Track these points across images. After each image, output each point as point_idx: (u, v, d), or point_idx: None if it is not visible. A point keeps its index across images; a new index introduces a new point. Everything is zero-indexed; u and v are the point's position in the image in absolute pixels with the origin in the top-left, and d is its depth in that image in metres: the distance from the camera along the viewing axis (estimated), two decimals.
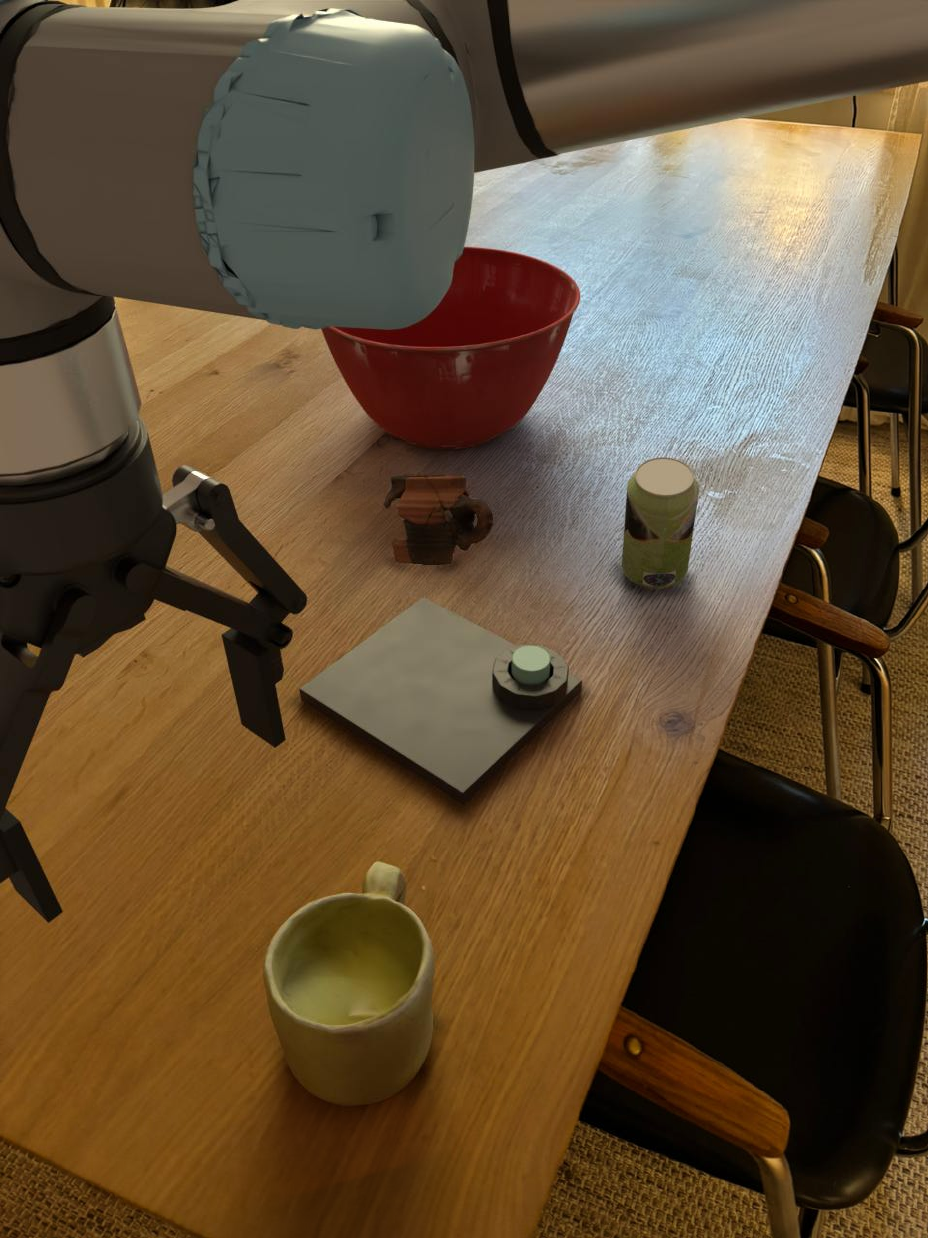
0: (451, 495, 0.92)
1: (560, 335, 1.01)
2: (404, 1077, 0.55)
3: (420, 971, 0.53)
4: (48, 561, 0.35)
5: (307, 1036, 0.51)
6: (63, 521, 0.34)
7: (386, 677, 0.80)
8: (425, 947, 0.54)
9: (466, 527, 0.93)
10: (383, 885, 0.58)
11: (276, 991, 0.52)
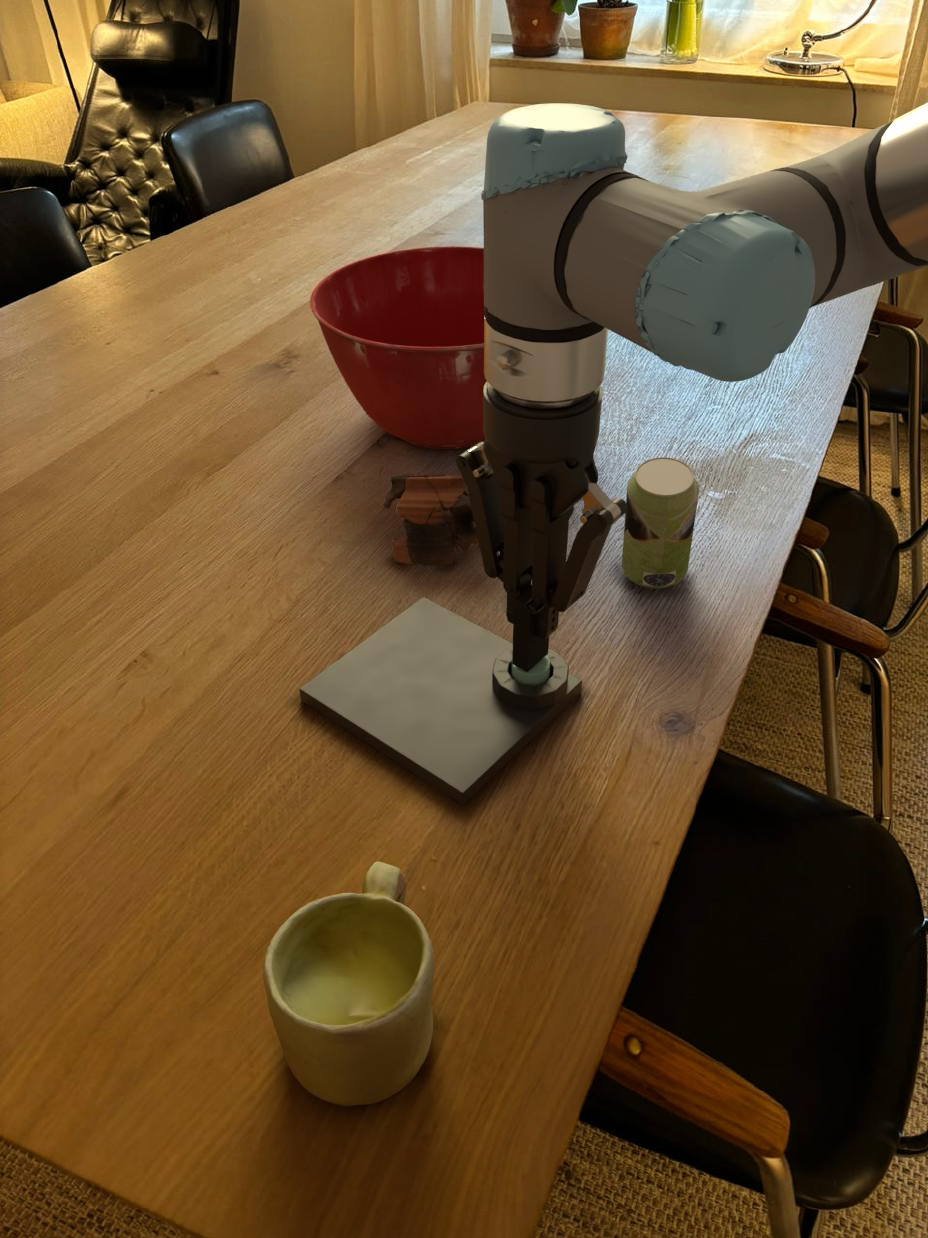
0: (451, 495, 0.92)
1: None
2: (404, 1077, 0.55)
3: (420, 971, 0.53)
4: None
5: (307, 1036, 0.51)
6: None
7: (386, 677, 0.80)
8: (425, 947, 0.54)
9: (466, 527, 0.93)
10: (383, 885, 0.58)
11: (276, 991, 0.52)
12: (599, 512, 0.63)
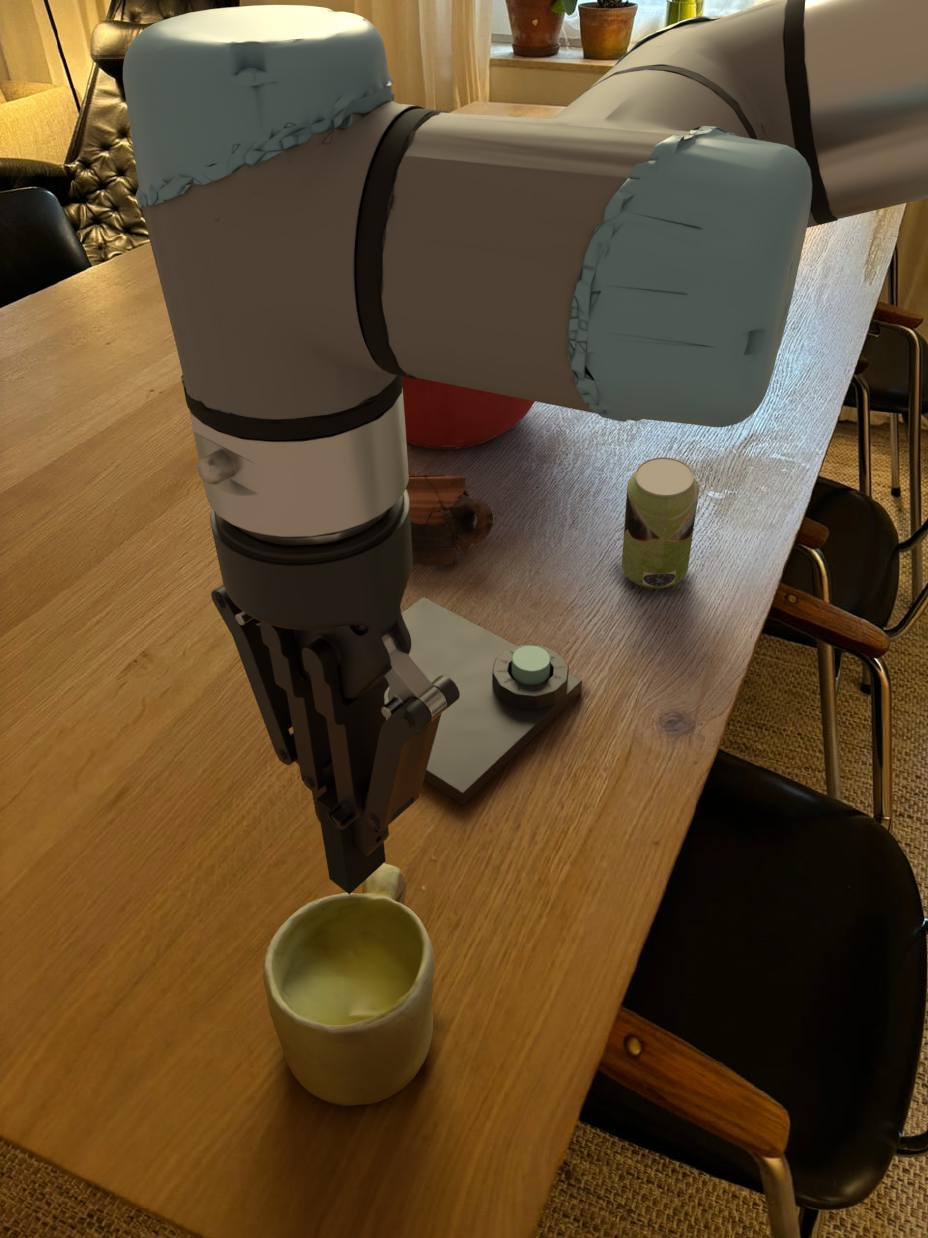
0: (451, 495, 0.92)
1: None
2: (404, 1077, 0.55)
3: (420, 971, 0.53)
4: None
5: (307, 1036, 0.51)
6: None
7: None
8: (425, 947, 0.54)
9: (466, 527, 0.93)
10: (383, 885, 0.58)
11: (276, 991, 0.52)
12: (407, 706, 0.38)
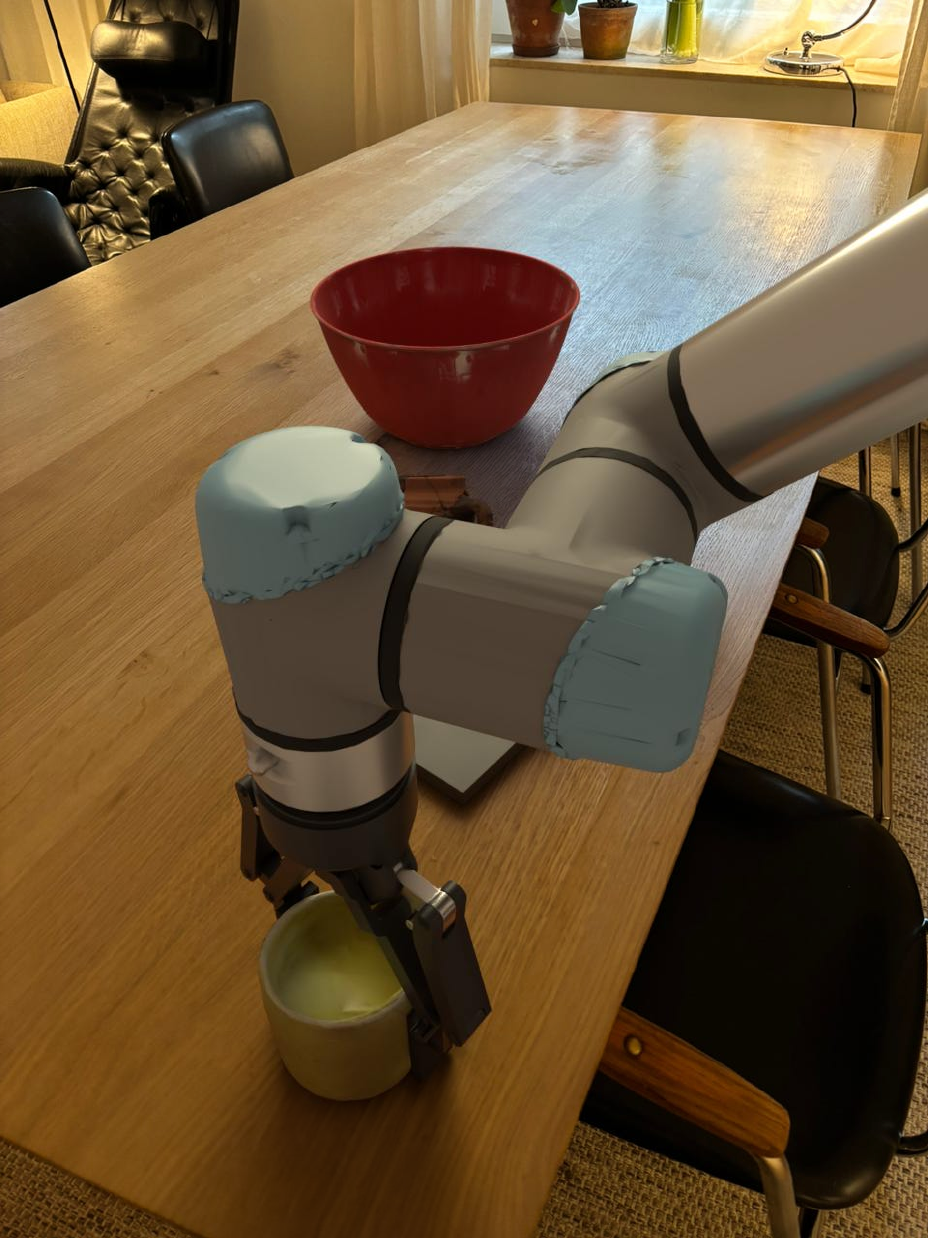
0: (451, 495, 0.92)
1: (560, 335, 1.01)
2: (397, 1072, 0.55)
3: None
4: None
5: (300, 1031, 0.51)
6: None
7: None
8: None
9: None
10: None
11: (270, 986, 0.52)
12: (418, 912, 0.45)
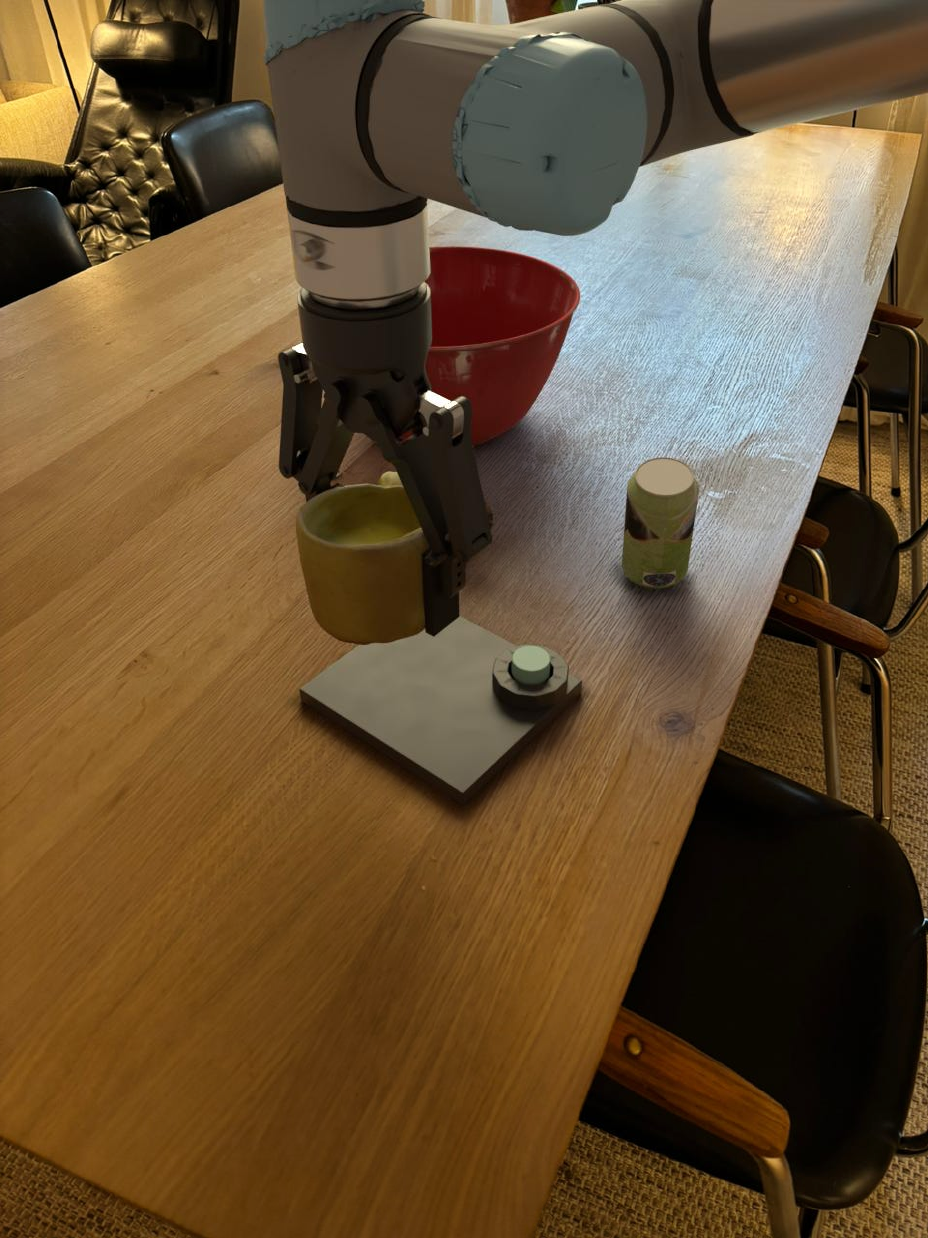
0: None
1: (560, 335, 1.01)
2: (413, 619, 0.65)
3: None
4: None
5: (333, 557, 0.61)
6: None
7: (386, 677, 0.80)
8: None
9: None
10: (395, 481, 0.69)
11: (308, 530, 0.63)
12: (433, 411, 0.56)
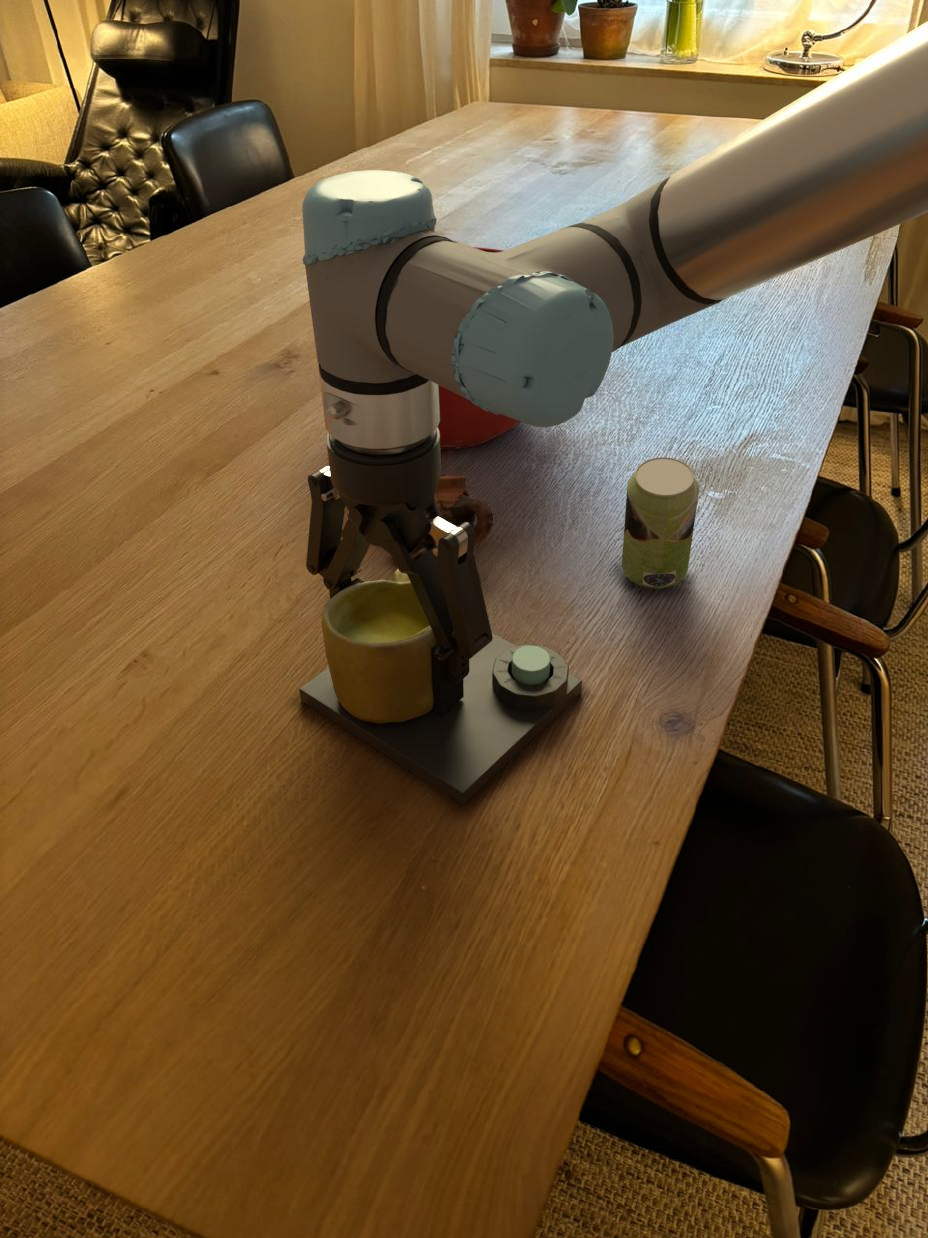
0: (451, 495, 0.92)
1: None
2: (423, 702, 0.75)
3: None
4: None
5: (355, 652, 0.71)
6: None
7: None
8: None
9: None
10: (408, 577, 0.78)
11: (332, 627, 0.72)
12: (442, 537, 0.65)
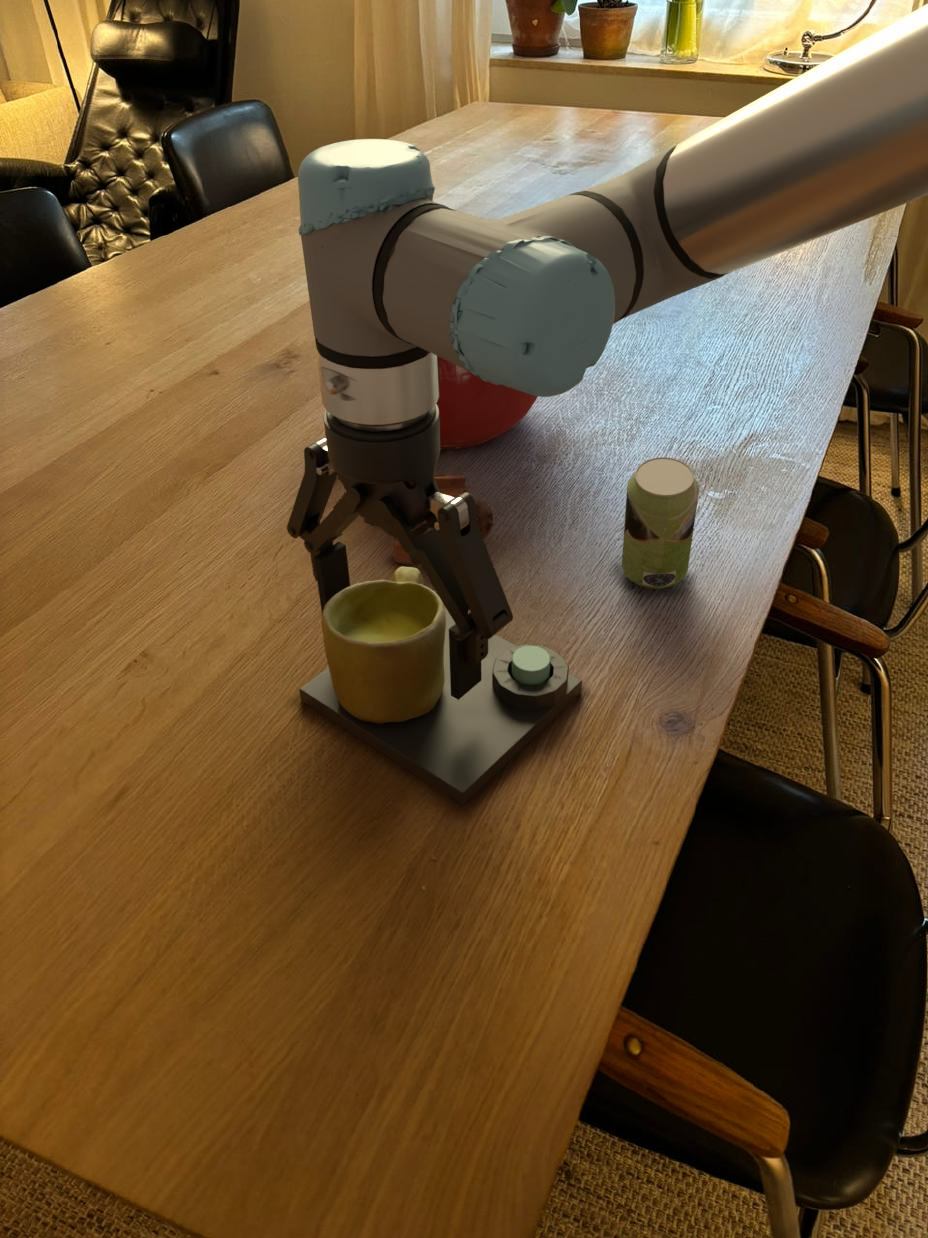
0: (451, 495, 0.92)
1: None
2: (423, 701, 0.75)
3: (436, 616, 0.73)
4: None
5: (355, 652, 0.71)
6: None
7: None
8: (439, 605, 0.74)
9: None
10: (408, 577, 0.78)
11: (332, 626, 0.72)
12: (440, 508, 0.64)
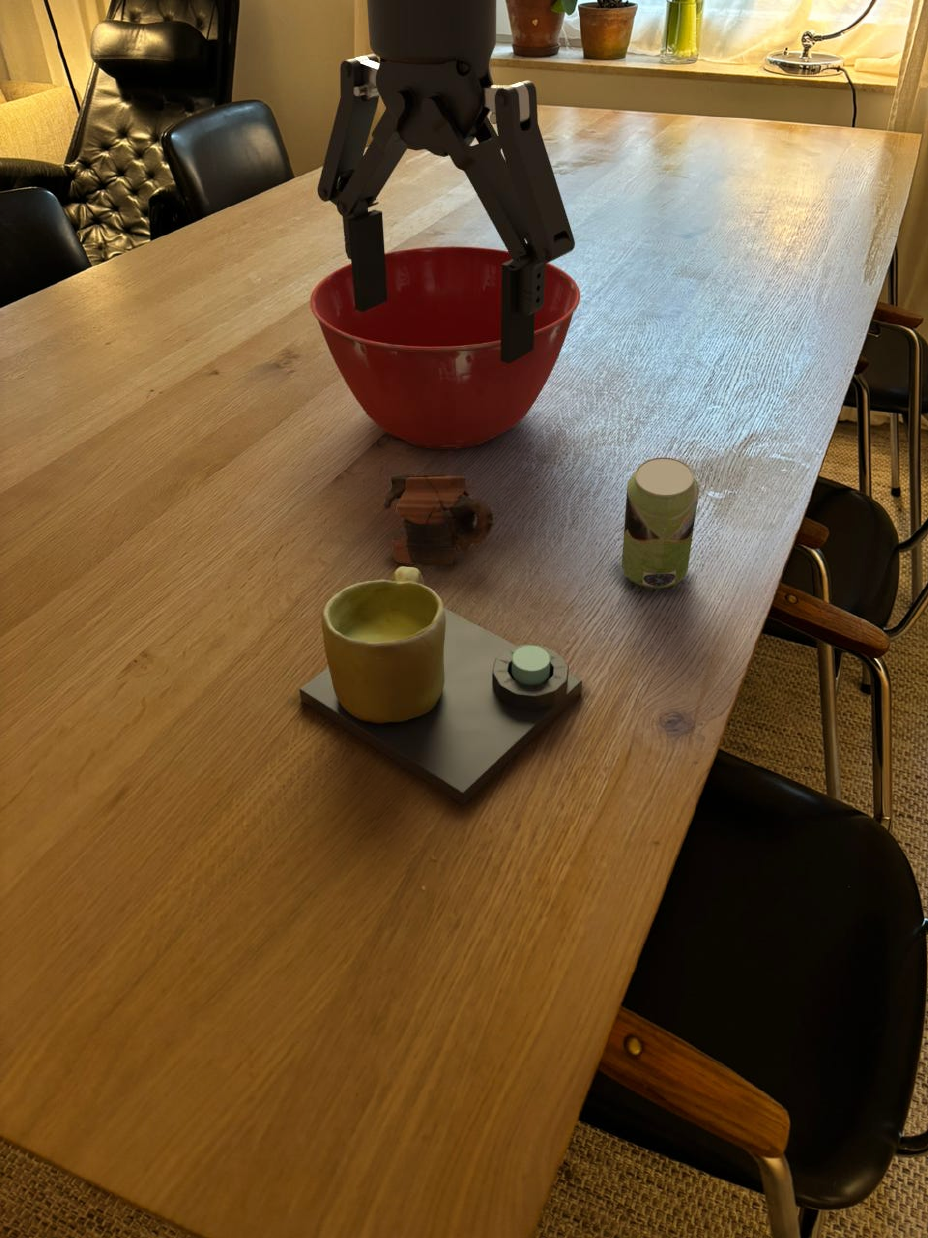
0: (451, 495, 0.92)
1: (560, 335, 1.01)
2: (423, 701, 0.75)
3: (436, 616, 0.73)
4: None
5: (355, 652, 0.71)
6: None
7: None
8: (439, 605, 0.74)
9: (466, 527, 0.93)
10: (408, 577, 0.78)
11: (332, 626, 0.72)
12: None
